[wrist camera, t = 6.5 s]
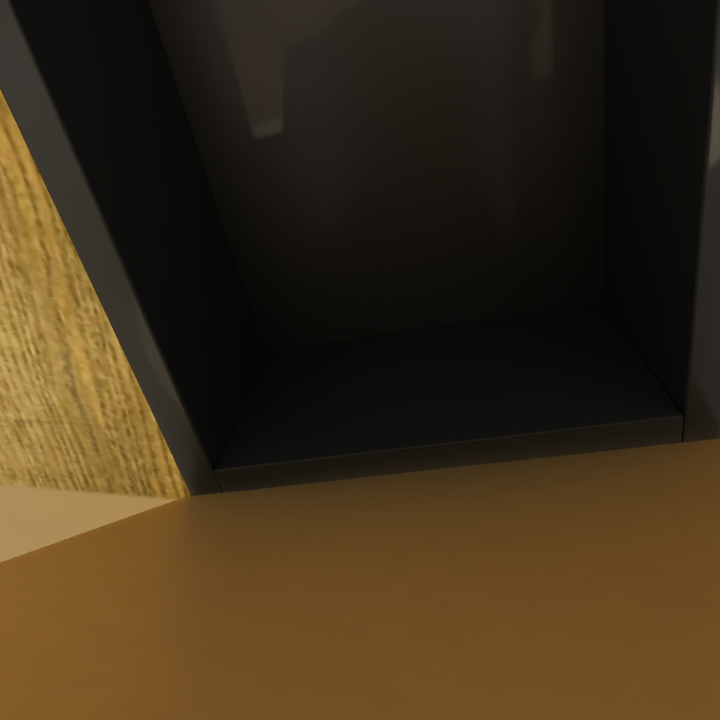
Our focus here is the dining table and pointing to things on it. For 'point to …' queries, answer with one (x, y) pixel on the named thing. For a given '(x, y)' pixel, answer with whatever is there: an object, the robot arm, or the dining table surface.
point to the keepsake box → (388, 222)
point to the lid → (387, 599)
